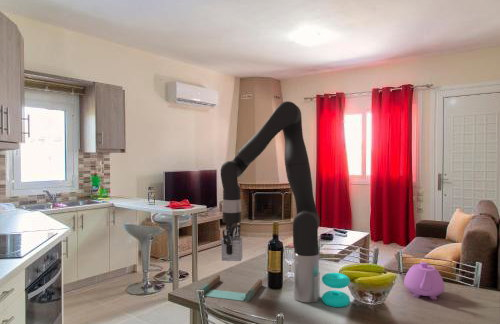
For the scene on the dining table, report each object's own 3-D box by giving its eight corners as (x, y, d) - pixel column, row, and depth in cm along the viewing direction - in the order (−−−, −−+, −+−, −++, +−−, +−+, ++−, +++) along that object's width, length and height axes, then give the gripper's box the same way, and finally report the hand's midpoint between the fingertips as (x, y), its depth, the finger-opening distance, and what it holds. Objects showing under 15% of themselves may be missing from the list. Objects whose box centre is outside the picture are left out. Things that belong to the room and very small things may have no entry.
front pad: (249, 294, 142) (249, 293, 142) (243, 301, 136) (243, 300, 136) (211, 289, 147) (211, 289, 147) (204, 296, 141) (204, 295, 141)
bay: (262, 285, 152) (262, 279, 152) (248, 301, 135) (248, 295, 135) (217, 280, 158) (217, 274, 158) (199, 295, 141) (199, 289, 141)
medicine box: (242, 258, 149) (242, 237, 149) (240, 261, 144) (240, 239, 144) (223, 258, 150) (223, 236, 149) (221, 261, 145) (221, 239, 145)
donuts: (355, 278, 131) (331, 281, 128) (355, 306, 131) (331, 310, 128) (339, 270, 140) (317, 273, 137) (339, 296, 141) (316, 299, 137)
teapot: (449, 307, 130) (449, 272, 129) (406, 302, 134) (406, 268, 134) (440, 288, 149) (440, 258, 148) (402, 284, 153) (402, 255, 153)
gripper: (233, 213, 139) (234, 258, 139) (246, 208, 152) (246, 249, 152) (215, 212, 141) (216, 256, 141) (230, 207, 155) (230, 247, 155)
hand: (232, 252), depth 147 cm, fingers closed on medicine box, 5 cm apart
